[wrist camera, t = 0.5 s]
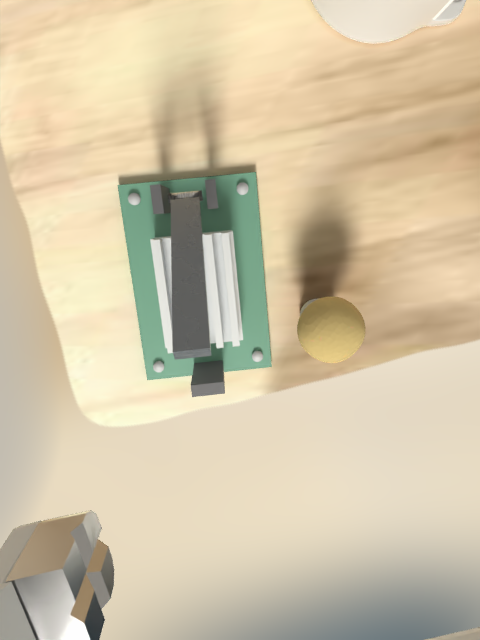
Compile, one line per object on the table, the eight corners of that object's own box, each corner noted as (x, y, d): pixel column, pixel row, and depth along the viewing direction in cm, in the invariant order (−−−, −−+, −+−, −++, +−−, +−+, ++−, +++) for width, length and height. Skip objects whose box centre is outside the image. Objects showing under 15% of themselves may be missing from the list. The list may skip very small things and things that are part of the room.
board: (119, 185, 46) (98, 180, 38) (255, 172, 46) (263, 164, 38) (148, 377, 51) (135, 409, 43) (270, 364, 51) (281, 393, 43)
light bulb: (275, 318, 50) (289, 344, 40) (312, 273, 49) (336, 289, 40) (317, 351, 51) (341, 384, 42) (355, 309, 50) (388, 332, 41)
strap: (169, 200, 41) (167, 191, 40) (202, 196, 41) (201, 187, 40) (171, 360, 31) (168, 352, 30) (215, 355, 31) (213, 347, 30)
